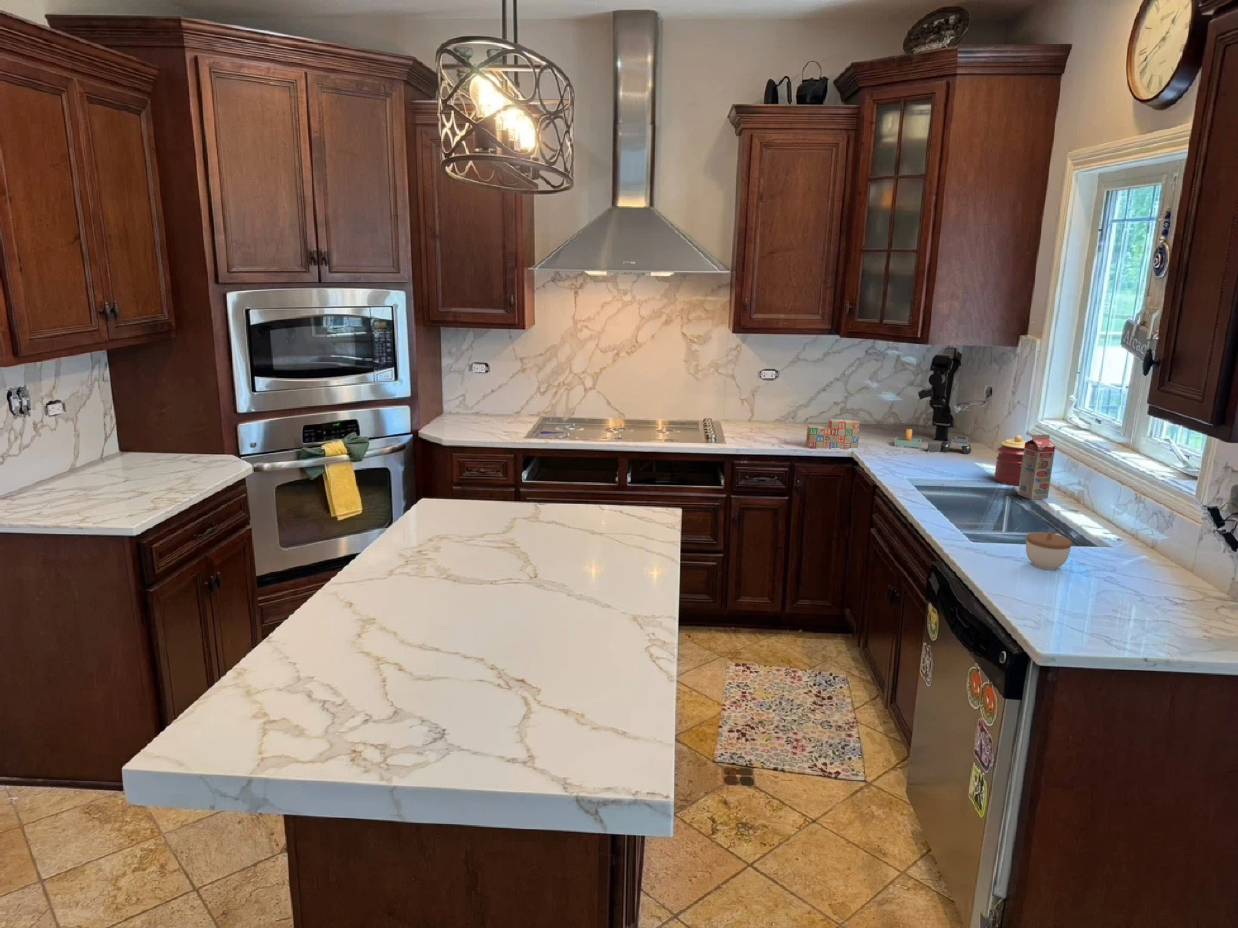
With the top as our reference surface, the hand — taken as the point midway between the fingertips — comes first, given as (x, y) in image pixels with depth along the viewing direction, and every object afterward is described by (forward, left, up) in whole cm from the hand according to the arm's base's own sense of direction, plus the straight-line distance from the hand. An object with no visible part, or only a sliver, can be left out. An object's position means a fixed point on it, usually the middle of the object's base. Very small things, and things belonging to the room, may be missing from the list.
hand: (936, 418), depth 365 cm
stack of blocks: (+23, -42, -13) cm, 49 cm away
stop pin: (+5, -11, -12) cm, 17 cm away
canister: (+55, +28, -13) cm, 63 cm away
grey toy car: (+8, +9, -12) cm, 17 cm away
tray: (+5, -11, -12) cm, 17 cm away
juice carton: (+75, +33, -13) cm, 83 cm away
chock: (+12, 0, -13) cm, 17 cm away
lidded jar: (+151, +29, -13) cm, 154 cm away
